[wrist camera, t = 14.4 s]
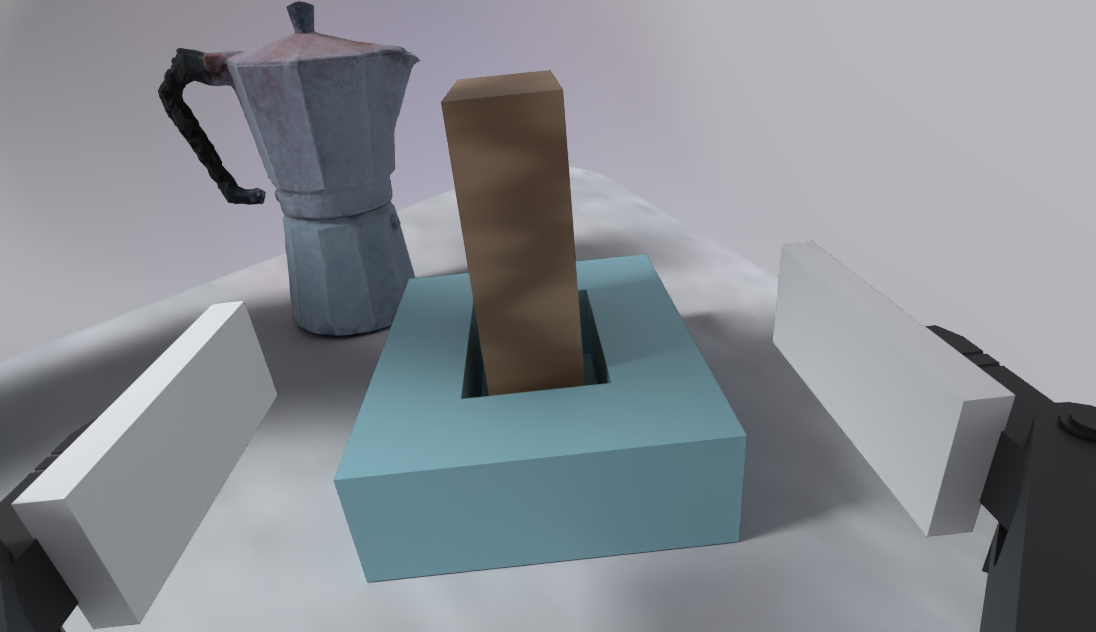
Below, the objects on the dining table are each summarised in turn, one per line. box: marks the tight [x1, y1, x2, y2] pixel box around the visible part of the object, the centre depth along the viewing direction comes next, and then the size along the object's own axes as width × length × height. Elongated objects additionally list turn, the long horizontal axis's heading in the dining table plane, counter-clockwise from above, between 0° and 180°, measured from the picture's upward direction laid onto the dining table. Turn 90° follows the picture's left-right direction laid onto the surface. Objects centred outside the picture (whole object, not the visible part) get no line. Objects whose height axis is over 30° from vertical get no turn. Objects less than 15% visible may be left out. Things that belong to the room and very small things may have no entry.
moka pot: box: [158, 1, 420, 336], centre depth 39 cm, size 10×15×20 cm, turn 105°
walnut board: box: [441, 70, 585, 396], centre depth 26 cm, size 4×7×15 cm, turn 3°
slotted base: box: [334, 254, 747, 582], centre depth 29 cm, size 14×17×5 cm
